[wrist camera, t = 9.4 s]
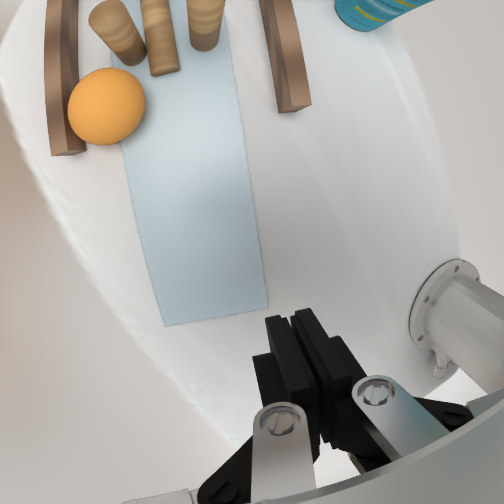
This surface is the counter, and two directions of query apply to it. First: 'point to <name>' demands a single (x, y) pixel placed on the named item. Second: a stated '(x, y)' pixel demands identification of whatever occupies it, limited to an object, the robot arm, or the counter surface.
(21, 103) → the counter surface
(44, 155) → the counter surface
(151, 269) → the lane
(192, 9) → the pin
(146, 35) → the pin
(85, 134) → the ball
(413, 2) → the tube
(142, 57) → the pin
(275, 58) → the fence
